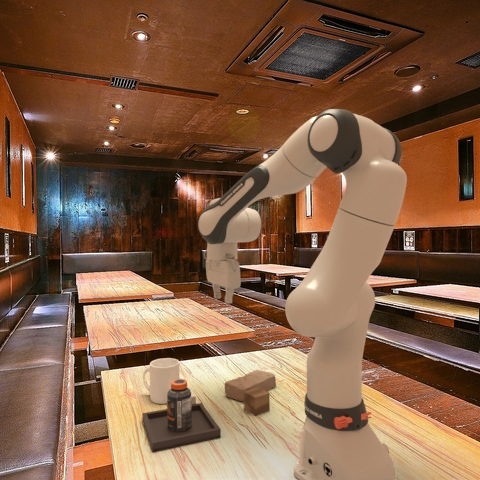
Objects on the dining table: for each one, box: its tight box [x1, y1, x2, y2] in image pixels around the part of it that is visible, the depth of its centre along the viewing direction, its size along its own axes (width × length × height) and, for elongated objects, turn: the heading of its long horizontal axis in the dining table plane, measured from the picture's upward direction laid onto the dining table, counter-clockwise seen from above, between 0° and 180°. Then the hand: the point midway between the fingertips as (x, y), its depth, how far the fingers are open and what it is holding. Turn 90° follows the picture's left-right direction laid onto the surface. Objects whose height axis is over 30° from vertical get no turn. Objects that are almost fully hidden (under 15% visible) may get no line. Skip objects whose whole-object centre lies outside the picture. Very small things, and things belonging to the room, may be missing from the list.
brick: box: [223, 369, 277, 403], centre depth 120 cm, size 17×8×5 cm, turn 141°
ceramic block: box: [189, 388, 197, 405], centre depth 108 cm, size 6×6×4 cm
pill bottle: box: [166, 378, 192, 432], centre depth 96 cm, size 6×6×11 cm
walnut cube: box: [243, 388, 271, 417], centre depth 106 cm, size 5×5×5 cm
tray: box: [141, 402, 222, 453], centre depth 96 cm, size 16×16×2 cm
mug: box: [142, 357, 181, 405], centre depth 115 cm, size 9×12×11 cm
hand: (222, 300), depth 113 cm, fingers open, 8 cm apart
